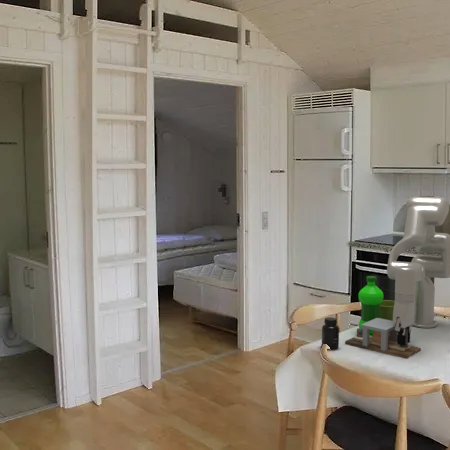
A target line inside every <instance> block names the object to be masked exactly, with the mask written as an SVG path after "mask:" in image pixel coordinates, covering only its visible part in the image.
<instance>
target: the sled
mask: <svg viewBox="0 0 450 450" xmlns="http://www.w3.org/2000/svg"><path fill="white" fill-rule="evenodd" d="M401 330H402V331H403V329H401ZM405 335H406V345H405V346H404V345H399V344H397V342H395V341H390V331H389V332H388V348H391V349H396V350H400V351H405V350H407V349H409V348H411V346H412V345H411V344H409V343H408V328H405ZM352 338H353V340H357V341H361V342H363V329H362V328H359V327H358V328H356V336H353V337H352ZM369 343H370V344H374V345H378V346H381V332H379V331H375V330H373V336H370V341H369Z"/></svg>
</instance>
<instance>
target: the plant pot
mask: <svg viewBox="0 0 450 450" xmlns="http://www.w3.org/2000/svg"><path fill="white" fill-rule="evenodd" d="M394 304H395V300H390V299H389V300H388V299H387V300H386V299H383V301H382V302H381V303H380V319H386V320H391V321H393V310H394Z"/></svg>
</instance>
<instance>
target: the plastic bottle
mask: <svg viewBox="0 0 450 450" xmlns="http://www.w3.org/2000/svg"><path fill="white" fill-rule="evenodd" d="M365 279H366V280H365V282H366V283H367V284H366V285H365V286H364V287H362V288H361V289H360V290H359V292H358V301H359V302H360V303H361V305H360V306H361V309H360V320H359V322H358V328H361V324H364V323H366V322H368V321H371V320H373V319H375V318H380V303H381V302H382V301H383V300H384V295H385V294H384V292H383V291H382V289H380V288H379V287H378V286H377V285H376V282H377V276H374V275H367V276H366V277H365ZM362 329H363V328H362ZM370 336H372V337H373V330H370Z"/></svg>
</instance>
